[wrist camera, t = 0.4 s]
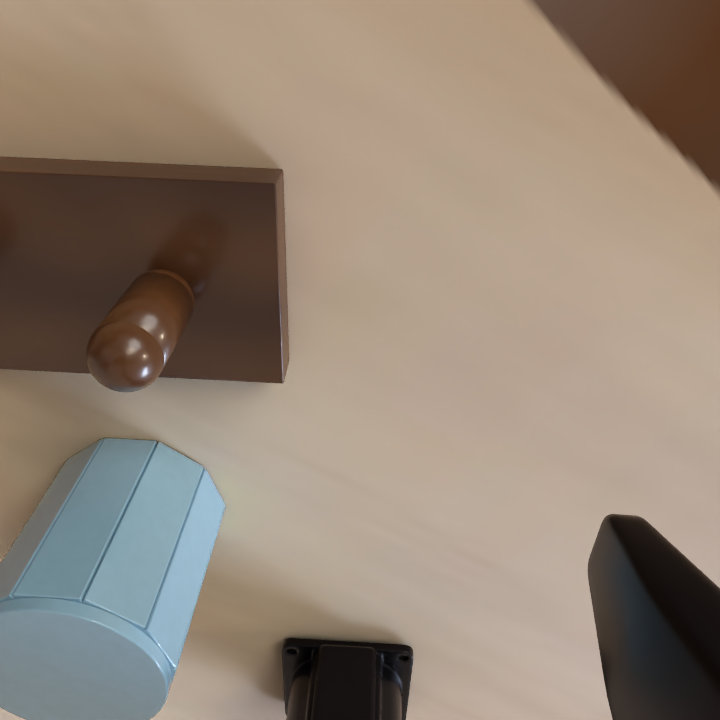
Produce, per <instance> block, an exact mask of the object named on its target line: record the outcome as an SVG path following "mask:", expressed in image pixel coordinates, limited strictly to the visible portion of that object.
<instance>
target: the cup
mask: <svg viewBox="0 0 720 720" xmlns="http://www.w3.org/2000/svg"><path fill="white" fill-rule="evenodd" d="M203 468H204V467H203V466H202V465H200V464H198V463H196V462H195V461H193V460H191V459H189V458H188V457H186V456H184V455H182V454H180V453H179V452H177V451H175V450H173V449H172V448H170V447H168V446H166V445H165V444H163V443H161V442H158V443H157V442H156V441H154V440H135V439H116V438H105V439H104V440H103V439H100V440H99V441H97V442H95V443H94V444H92V445H90V446H89V447H87V448H85V449H84V450H82V451H80V452H79V453H77V454H75V455H74V456H72V457H70V458H69V459H67V461H66V462H65V463H64V465H63V467H62V468H61V470H60V471H59V473H58V474H57V476H56V478H55V479H54V481H53V482H52V484H51V485H50V487H49V489H48V490H47V492H46V493H45V495H44V496H43V498H42V500H41V501H40V503H39V504H38V506H37V507H36V509H35V511H34V512H33V514H32V515H31V517H30V518H29V520H28V521H27V523H26V525H25V526H24V528H23V529H22V531H21V532H20V534H19V536H18V537H17V539H16V540H15V542H14V543H13V545H12V547H11V548H10V550H9V551H8V553H7V554H6V556H5V558H4V559H3V561H2V562H1V564H0V708H2V709H4V710H6V711H8V712H10V713H12V714H14V715H16V716H19V717H21V718H23V719H26V720H149V719H151V718H152V717H154V716H155V715H156V714H157V713H158V712H159V711H160V710H161V708H162V707H163V705H164V704H165V702H166V699H167V697H168V693H169V690H170V687H171V684H172V681H173V678H174V675H175V672H176V670H177V666H178V663H179V660H180V656H181V653H182V650H183V646H184V643H185V640H186V636H187V633H188V630H189V626H190V623H191V620H192V616H193V613H194V610H195V606H196V603H197V600H198V597H199V593H200V590H201V587H202V583H203V580H204V577H205V573H206V570H207V567H208V563H209V560H210V557H211V553H212V550H213V547H214V543H215V540H216V537H217V533H218V530H219V527H220V523H221V520H222V517H223V514H224V510H225V503H224V501H223V499H222V498H221V496H220V494H219V492H218V490H217V488H216V486H215V485H214V483H213V481H212V479H211V477H210V475H209V474H208V472H207V470H206V469H203Z"/></svg>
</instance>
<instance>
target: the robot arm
mask: <svg viewBox="0 0 720 720" xmlns="http://www.w3.org/2000/svg"><path fill="white" fill-rule="evenodd" d="M588 580H589V586H590V592H591V599H592V605H593V612H594V618H595V624H596V631H597V637H598V643H599V650H600V656H601V662H602V669H603V675H604V681H605V687H606V692H607V698H608V702H609V706H610V710H611V714H612V718H613V720H720V588H719V587H718V586H717V585H715V584H714V583H713V582H712V581H711V580H710V579H709V578H708V577H707V576H706V575H705V574H704V573H702V572H701V571H700V570H699V569H698V568H697V567H696V566H695V565H694V564H693V563H692V562H691V561H689V560H688V559H687V558H686V557H685V556H684V555H683V554H682V553H681V552H680V551H679V550H677V549H676V548H675V547H674V546H673V545H672V544H671V543H670V542H669V541H668V540H667V539H666V538H664V537H663V536H662V535H661V534H660V533H659V532H658V531H657V530H656V529H655V528H654V527H652V526H651V525H650V524H649V523H648V522H647V521H646V520H644V519H643V518H641V517H639V516H632V515H619V514H610V515H607V516H606V517H605V518H604V520H603V522H602V524H601V527H600V529H599V532H598V535H597V538H596V541H595V543H594V546H593V549H592V552H591V555H590V558H589V562H588ZM282 661H283V679H284V697H285V713H286V715H287V718H286V720H406V712H407V704H408V696H409V689H410V681H411V673H412V665H413V649H412V648H411V647H409V646H407V645H397V644H380V643H363V642H346V641H329V640H313V639H296V638H290V639H286V640H285V641H284V643H283V648H282Z"/></svg>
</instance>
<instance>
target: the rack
mask: <svg viewBox="0 0 720 720" xmlns="http://www.w3.org/2000/svg"><path fill="white" fill-rule="evenodd" d="M288 363H289V336H288V305H287V274H286V243H285V212H284V181H283V170H282V169H266V168H243V167H221V166H198V165H176V164H153V163H131V162H108V161H86V160H63V159H41V158H18V157H0V369H13V370H32V371H52V372H71V373H91V374H92V375H93V376H94V378H95V379H96V380H97V381H98V382H99V383H101V384H102V385H103V386H105V387H107V388H109V389H111V390H115V391H119V392H133V391H137V390H141V389H143V388H145V387H147V386H148V385H150V384H151V383H152V382H154V381H155V380H156V378H157V377H169V378H188V379H208V380H227V381H247V382H266V383H283V382H284V379H285V375H286V371H287V367H288Z"/></svg>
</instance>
